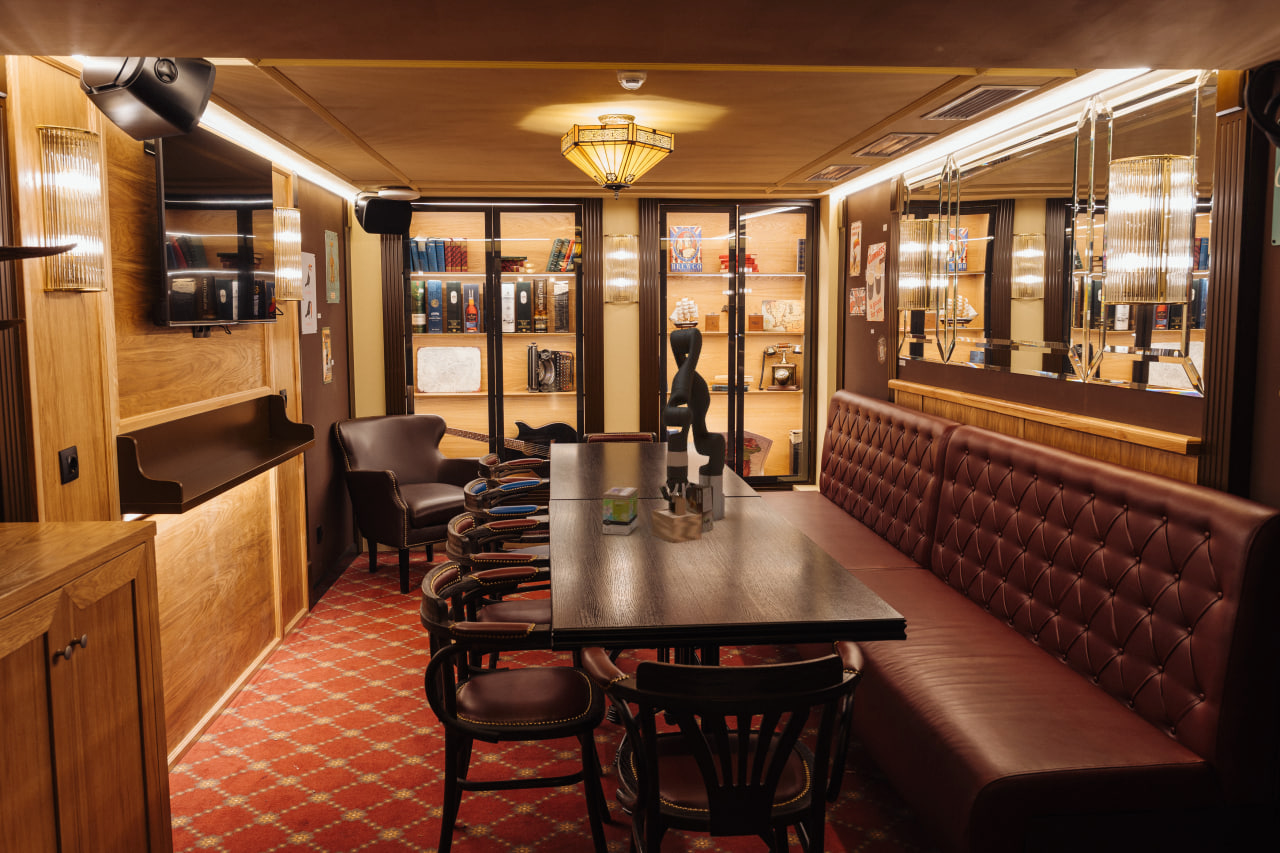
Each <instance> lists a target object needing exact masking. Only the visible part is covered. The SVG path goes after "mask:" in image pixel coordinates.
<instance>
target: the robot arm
mask: <svg viewBox="0 0 1280 853" xmlns="http://www.w3.org/2000/svg"><path fill="white" fill-rule="evenodd" d="M669 344H670V348H671V351H672V354H673V357H674V358H673V359H674V360H675V364H676V366H677V369H678V370H677V372H676V373H675V375H674V376H673V379H672V382H671V388H670V389H671V390H670V394H669V398H668V400H667V402H666V405H665V406H664V408H663V411H662V414H661V419H662V420H661V421H662V423H663V424H664V426H665V427H669V428H673V427H674V428H676V427H677V428H681V430H680V432H675V433H670V434H669V435H668V436H667V439H666V440H667V441H666V443H667V446H666V447H667V448H666V449H667V451H666V481H665V483H664V484H660V485H659V490H660V493H661V495H662V497H663V499H664V501H666V502H668V501H669V510H670V511H671V512H672V513H675V497H676V495H678V496H681V497H684V498H686V500H687V499H690V497H691V494H692V491H693V489H694V486H695V482H691V481H689V478H688V477H689V455H688V441H689V440H688V438H689V433H690V429H691V432H692V439H693V446H694V448H695V451H696V453H697V454H698V455H699V456H704V457H708V462H707V463H705V464H703V465H700V466H699V468H698V484H702V485H708V486H713V521H719V520H722V519H725V515H726V514H725V513H726V512H725V508H726V507H725V506H726V505H725V504H726V503H725V502H726V501H725V500H726V494H725V493H724V489H723V487H724V484H723V483H724V469H725V465H726V452H727V445H726V444H727V441H726V438H725V435H724V434H722V433H719V432H718V433H717V432H711V431H710V432H709V430H708V426H707V423H706V417H707V415H708V414H707V413H708V412H709V409H710V405H711V394H710V390H709V385H708V383H707V381H706V380H705V378H704V377H703V376H702V375H701V374H700V373H699V372H698V371H697V370H696V368H697V366H698V362H699V360H700V357H701V356H700V355H701V353H702V348H703V335H702V332H701V331H700V329H699V328H697V327H691V328H690V327H688V328H682V329H681V328H680V329H675V330H672V331H671V332H670V334H669ZM684 405H686V406H684ZM686 486H687V488H686ZM685 488H686V491H685Z"/></svg>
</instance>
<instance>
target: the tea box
mask: <svg viewBox="0 0 1280 853" xmlns="http://www.w3.org/2000/svg"><path fill="white" fill-rule="evenodd" d="M602 499H603V503H602V504H603V505H602V506H603V507H602V509H603V510H602V534H604V535H605V534H607V535H617V536H618V535H619V536H620V535H622V536H628V535H630V534H631V533H632V532H633V530H635V528H637V526H638V513H639V512H638V509H639V508H638V507H639V506H638V505H639V501H638V500H639V488H637V487H629V486H628V487H626V486H612V487H611V488H609V489H608V490H606V492H604V493H603V498H602Z"/></svg>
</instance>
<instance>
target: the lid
mask: <svg viewBox="0 0 1280 853" xmlns="http://www.w3.org/2000/svg"><path fill="white" fill-rule="evenodd" d="M667 504H668V507H667V509H668V510H666V511H658V512H659V513H662V514H664V515H667V516H670V517H672V518H676V517H684V516H692V515H696V514H693V513H691V512H688V511H686V498H684V497H681V496H679V494H677V495H676V497H675V513H672V512H671V511H670V510H669V501H667Z"/></svg>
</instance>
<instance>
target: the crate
mask: <svg viewBox="0 0 1280 853" xmlns="http://www.w3.org/2000/svg"><path fill="white" fill-rule="evenodd" d="M666 510H668V508H661V509H654V510H653V509H652V511H651V519H652V520H651V523H652V524H651V534H652V535H653V536H655V537H657V538H660V539H662V540H665V541H666V542H670V543H672V544H673V543H682V542H687V541H689V542H690V541H696V540H702V538H703V536H702V535H703V532H702V514H699V513H696V512H693V511H691V510H688V509H686V511H688V512H691V513H693V514H696V515H692V516H684V517H676V518H672V517H670V516H667V515H664V514H662V513H659V512H658V511H666Z"/></svg>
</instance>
